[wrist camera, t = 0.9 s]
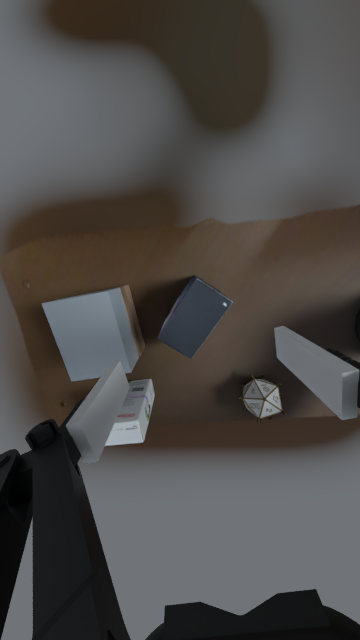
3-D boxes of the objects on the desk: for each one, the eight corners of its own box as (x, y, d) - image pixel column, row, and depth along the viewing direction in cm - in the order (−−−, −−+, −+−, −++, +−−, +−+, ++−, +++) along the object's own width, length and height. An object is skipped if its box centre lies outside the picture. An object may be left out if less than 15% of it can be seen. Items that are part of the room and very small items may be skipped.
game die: (245, 382, 44) (238, 426, 38) (238, 361, 40) (228, 407, 33) (289, 389, 40) (288, 440, 33) (286, 366, 35) (285, 420, 29)
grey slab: (120, 287, 31) (107, 290, 26) (138, 357, 34) (131, 372, 29) (63, 298, 31) (41, 303, 27) (87, 365, 35) (71, 381, 30)
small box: (192, 273, 34) (195, 275, 24) (221, 292, 35) (236, 301, 25) (163, 319, 37) (154, 338, 27) (190, 336, 38) (192, 361, 28)
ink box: (118, 400, 42) (94, 449, 31) (113, 381, 41) (86, 425, 30) (155, 396, 42) (144, 444, 30) (151, 377, 40) (138, 420, 29)
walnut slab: (129, 284, 35) (120, 287, 31) (145, 346, 39) (140, 357, 34) (80, 294, 36) (64, 298, 31) (100, 354, 40) (89, 366, 35)
